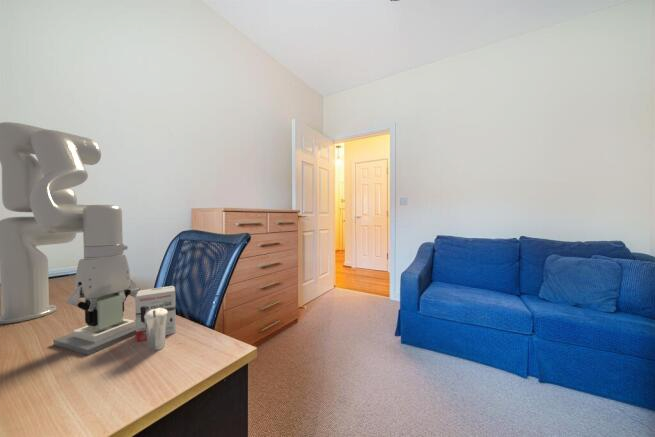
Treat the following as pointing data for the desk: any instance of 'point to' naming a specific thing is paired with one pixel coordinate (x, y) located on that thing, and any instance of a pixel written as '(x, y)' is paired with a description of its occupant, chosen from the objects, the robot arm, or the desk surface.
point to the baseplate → (97, 337)
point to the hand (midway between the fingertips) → (105, 319)
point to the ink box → (152, 301)
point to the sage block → (109, 311)
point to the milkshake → (156, 328)
